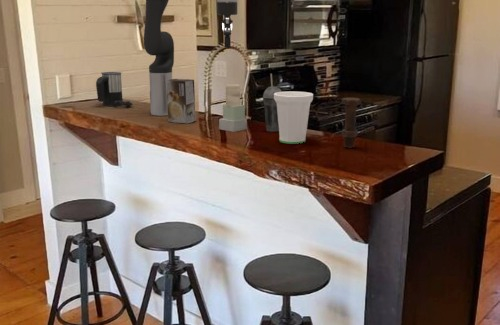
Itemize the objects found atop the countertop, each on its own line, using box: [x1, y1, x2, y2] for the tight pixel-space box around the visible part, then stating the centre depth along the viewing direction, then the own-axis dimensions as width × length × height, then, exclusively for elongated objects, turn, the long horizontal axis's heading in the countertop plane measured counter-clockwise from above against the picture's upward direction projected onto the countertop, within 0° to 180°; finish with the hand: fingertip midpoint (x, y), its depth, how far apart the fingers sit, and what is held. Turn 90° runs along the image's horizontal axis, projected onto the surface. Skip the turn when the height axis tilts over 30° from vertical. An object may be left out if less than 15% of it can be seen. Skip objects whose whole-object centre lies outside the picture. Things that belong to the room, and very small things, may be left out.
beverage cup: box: [262, 73, 283, 133], centre depth 185 cm, size 7×7×20 cm
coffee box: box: [166, 78, 196, 125], centre depth 202 cm, size 9×6×16 cm
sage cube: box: [222, 103, 246, 121], centre depth 188 cm, size 6×6×5 cm
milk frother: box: [95, 71, 134, 108], centre depth 239 cm, size 14×16×15 cm
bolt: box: [340, 97, 362, 149], centre depth 161 cm, size 6×5×15 cm
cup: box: [274, 90, 314, 145], centre depth 169 cm, size 12×12×15 cm
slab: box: [218, 117, 248, 133], centre depth 190 cm, size 7×7×4 cm
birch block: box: [225, 83, 241, 106], centre depth 186 cm, size 5×5×7 cm
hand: (227, 46), depth 196 cm, fingers open, 8 cm apart
